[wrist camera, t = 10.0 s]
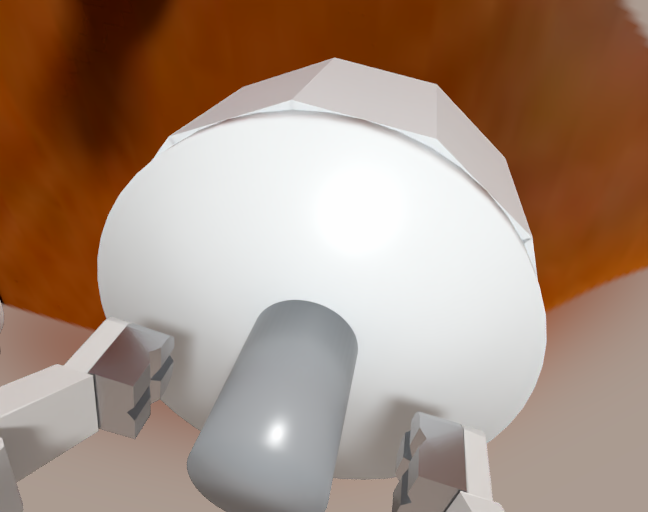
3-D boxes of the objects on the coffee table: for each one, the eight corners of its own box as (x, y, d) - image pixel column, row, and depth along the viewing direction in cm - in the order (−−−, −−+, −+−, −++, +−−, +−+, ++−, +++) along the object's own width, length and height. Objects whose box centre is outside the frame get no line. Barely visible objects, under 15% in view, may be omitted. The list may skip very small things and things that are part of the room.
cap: (259, 364, 22) (153, 609, 13) (135, 121, 16) (-162, 282, 8) (530, 338, 18) (608, 656, 10) (484, 9, 12) (572, 104, 4)
